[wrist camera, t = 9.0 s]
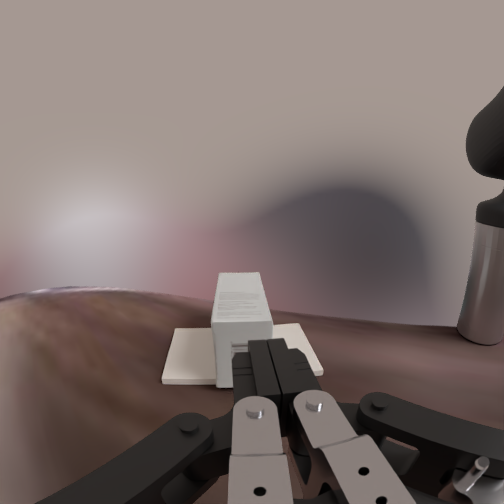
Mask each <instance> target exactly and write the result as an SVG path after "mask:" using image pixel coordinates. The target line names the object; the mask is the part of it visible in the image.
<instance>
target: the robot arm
mask: <svg viewBox="0 0 504 504" xmlns="http://www.w3.org/2000/svg"><path fill="white" fill-rule="evenodd" d="M466 153H467V157H468V161H469V163H470V165H471V166H472V168H473V169H474V170H475V171H476V172H477V173H479V174H481V175H483V176H486V177H491V178H496V179H501V180H504V87H503V88H502V89H501V91H500V92H499V93H498V94H497V96H496V97H495V98H494V99H493V100H492V101H491V102H490V103H489V104H488V105H487V106H486V107H485V108H484V109H483V110H481V111H480V112H479V113H478V114H477V115H476V117H475V118H474V119H473V121H472V123H471V125H470V127H469V130H468V133H467V138H466ZM457 329H458V331H459V333H460V334H461V335H462V336H464V337H465V338H467V339H469V340H471V341H473V342H476V343H480V344H486V345H491V344H496V343H499V342H500V341H501V340H502V338H503V335H504V189H503V192H502V193H501V194H500V195H498V196H497V197H495V198H493V199H490V200H487V201H483V202H480V203H479V204H478V206H477V211H476V222H475V233H474V242H473V250H472V257H471V264H470V270H469V275H468V281H467V286H466V291H465V295H464V300H463V304H462V308H461V312H460V316H459V320H458V324H457ZM232 377H233V392H234V406H233V408H232V409H231V411H230V412H229V413H227V414H226V415H224V416H222V417H219V418H216V419H212V420H209V419H208V418H206V417H205V416H203V415H201V414H198V413H183V414H179V415H177V416H175V417H173V418H172V419H171V420H169V421H168V422H166V423H165V424H164V425H162V426H161V427H160V428H158V429H157V430H155V431H154V432H153V433H151V434H150V435H148V436H147V437H145V438H144V439H143V440H141V441H140V442H138V443H137V444H135V445H134V446H132V447H131V448H129V449H128V450H126V451H125V452H123V453H122V454H120V455H119V456H117V457H115V458H114V459H112V460H111V461H109V462H108V463H106V464H104V465H103V466H101V467H100V468H98V469H96V470H95V471H93V472H91V473H90V474H88V475H86V476H85V477H83V478H81V479H80V480H78V481H76V482H74V483H73V484H71V485H69V486H67V487H65V488H64V489H62V490H60V491H58V492H56V493H54V494H52V495H50V496H49V497H47V498H45V499H43V500H41V501H39V502H37V503H35V504H193V503H194V502H195V501H196V500H197V499H198V498H199V497H200V496H201V495H202V494H204V493H205V492H206V491H207V490H208V489H209V488H210V487H211V486H212V485H213V484H214V483H215V482H216V481H217V480H218V478H219V476H222V475H226V474H229V485H228V504H504V430H500V429H496V428H492V427H488V426H484V425H481V424H477V423H473V422H470V421H466V420H463V419H460V418H456V417H453V416H450V415H447V414H443V413H440V412H437V411H434V410H431V409H428V408H425V407H422V406H419V405H416V404H413V403H411V402H408V401H405V400H402V399H399V398H397V397H394V396H391V395H389V394H386V393H381V392H374V393H369V394H367V395H365V396H364V397H363V398H362V399H361V400H360V403H359V404H354V403H340V402H336V401H335V400H334V398H333V397H332V396H331V395H330V394H328V393H326V392H324V391H322V389H321V387H320V385H319V383H318V381H317V379H316V376H315V374H314V372H313V370H312V369H311V366H310V364H309V362H308V360H307V357H306V355H305V354H304V353H303V352H301V351H300V350H299V349H298V348H292V349H288V347H287V344H286V342H285V339H284V338H275V339H266V340H265V339H261V340H248V352H238V353H236V354H235V355H234V357H233V358H232ZM387 436H388V437H390V438H393V439H395V440H398V441H400V442H403V443H406V444H408V445H411V446H414V447H416V448H417V449H418V450H411V449H408V448H406V447H403V446H400V445H398V444H395V443H393V442H390V441H388V440H385V439H386V437H387ZM281 437H287V438H288V441H289V446H288V454H289V456H290V459H291V462H292V464H293V467H294V470H295V472H296V475H297V478H298V480H299V483H300V485H301V488H302V492H303V499H293V497H292V490H291V483H290V476H289V469H288V462H287V457H286V454H285V453H283V449H282V441H281Z"/></svg>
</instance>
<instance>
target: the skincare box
mask: <svg viewBox="0 0 504 504" xmlns="http://www.w3.org/2000/svg"><path fill="white" fill-rule="evenodd" d="M211 329H212V335H213V344H214V354H215V369H216V387H218V388H231V387H233V377H232V358H233V357H234V355H235V354H236V353H238V352H248V340H261V339H265V340H266V339H273V320H272V317H271V314H270V310H269V307H268V303H267V299H266V296H265V292H264V289H263V285H262V282H261V278H260V274H259V272H257V273H256V272H255V273H219V276H218V283H217V287H216V293H215V299H214V305H213V310H212V317H211Z"/></svg>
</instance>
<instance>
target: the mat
mask: <svg viewBox="0 0 504 504" xmlns="http://www.w3.org/2000/svg"><path fill="white" fill-rule="evenodd" d="M275 338H284V339H285V342H286V344H287V347H288V349H292V348H298V349H299V350H300V351H301V352H303V353H304V354H305V355H306V357H307V360H308V362H309V364H310V366H311V369H312V370H313V372H314V374H315V376H321V375H323V368H322V366H321V364H320V362H319V360H318V359H317V357H316V355H315V353H314V351H313V349H312V347H311V345H310V344H309V342H308V340H307V338H306V336H305V334H304V332H303V331H302V329H301V327H300V325H299V323H294V324H281V325H273V339H275ZM162 383H163V384H183V385H206V384H216V369H215V354H214V344H213V335H212V329H211V328H176V329H175V332H174V336H173V339H172V342H171V346H170V349H169V353H168V357H167V360H166V364H165V368H164V371H163V375H162Z"/></svg>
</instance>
